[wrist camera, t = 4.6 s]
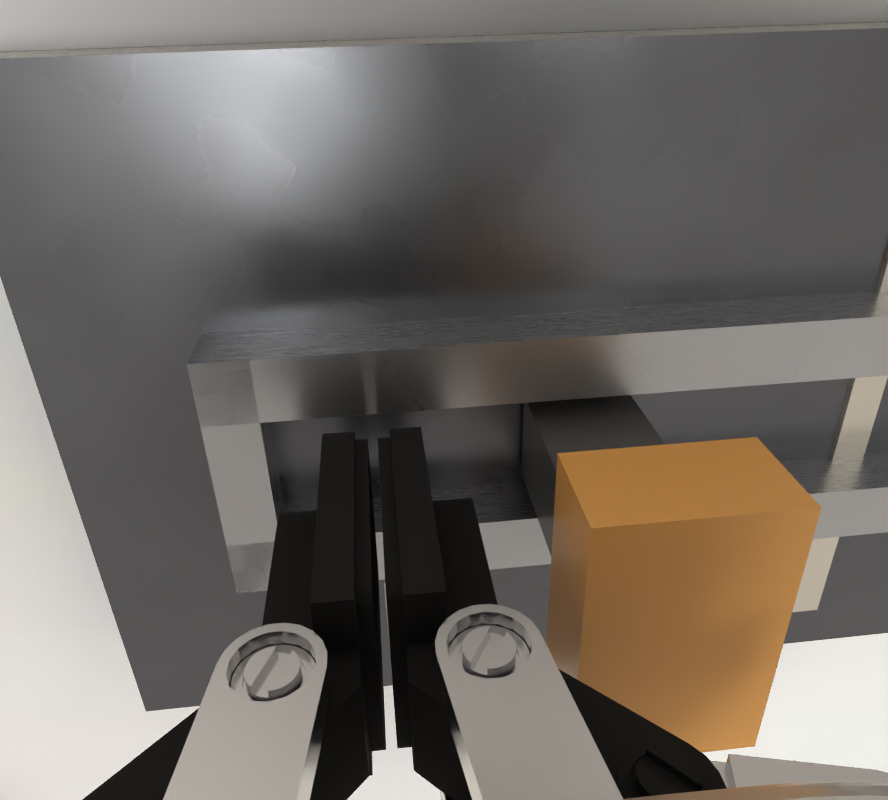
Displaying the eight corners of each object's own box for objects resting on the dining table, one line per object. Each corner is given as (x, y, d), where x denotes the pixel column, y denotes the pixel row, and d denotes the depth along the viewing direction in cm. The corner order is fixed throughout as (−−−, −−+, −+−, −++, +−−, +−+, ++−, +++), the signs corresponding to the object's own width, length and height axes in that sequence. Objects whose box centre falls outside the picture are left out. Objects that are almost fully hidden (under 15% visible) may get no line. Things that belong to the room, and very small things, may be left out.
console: (1370, 6, 14) (1616, 6, 12) (1084, 554, 21) (1196, 639, 18) (-11, 52, 12) (-120, 68, 9) (165, 645, 19) (132, 757, 16)
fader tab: (652, 324, 14) (822, 507, 9) (629, 513, 16) (754, 746, 11) (504, 334, 13) (591, 528, 8) (501, 524, 15) (569, 767, 11)
